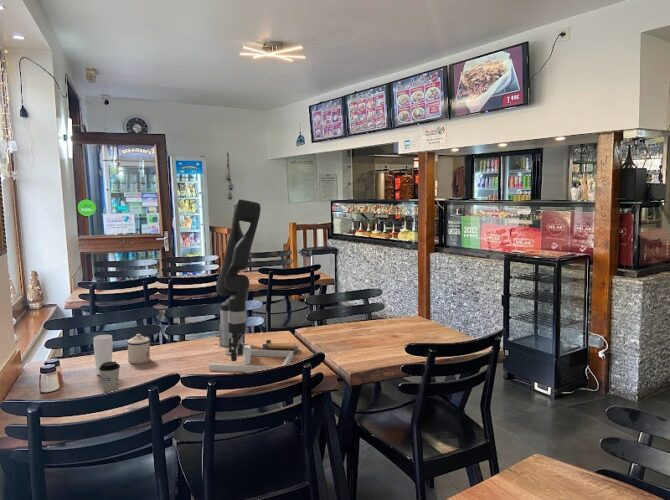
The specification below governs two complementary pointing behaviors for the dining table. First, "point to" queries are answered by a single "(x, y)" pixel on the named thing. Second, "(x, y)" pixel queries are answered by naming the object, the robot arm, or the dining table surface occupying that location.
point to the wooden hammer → (281, 345)
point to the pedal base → (265, 346)
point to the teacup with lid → (138, 349)
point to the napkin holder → (246, 354)
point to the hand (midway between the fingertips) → (237, 357)
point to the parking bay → (250, 367)
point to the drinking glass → (102, 350)
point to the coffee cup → (109, 376)
